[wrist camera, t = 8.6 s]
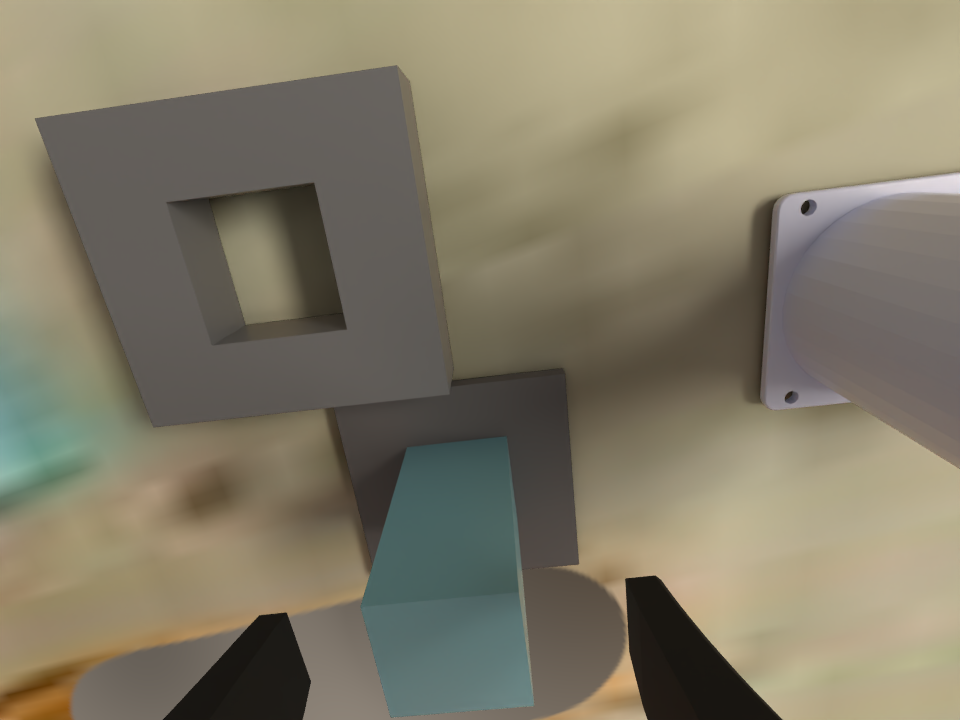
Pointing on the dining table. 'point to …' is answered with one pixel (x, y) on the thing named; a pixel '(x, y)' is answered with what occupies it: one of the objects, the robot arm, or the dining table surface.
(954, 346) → the robot arm
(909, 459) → the dining table surface
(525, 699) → the plug
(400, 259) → the socket block
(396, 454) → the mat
